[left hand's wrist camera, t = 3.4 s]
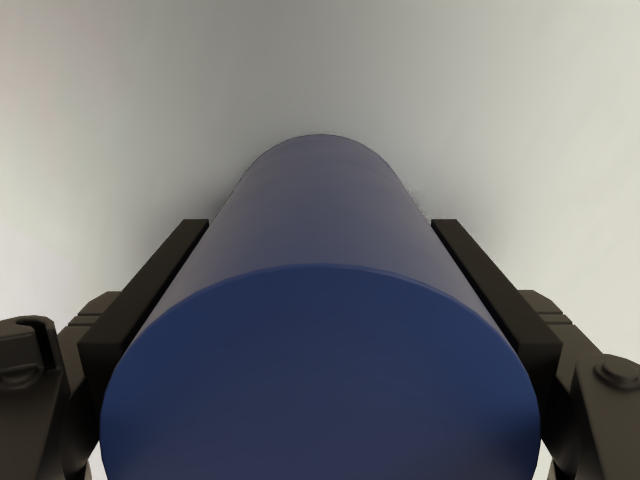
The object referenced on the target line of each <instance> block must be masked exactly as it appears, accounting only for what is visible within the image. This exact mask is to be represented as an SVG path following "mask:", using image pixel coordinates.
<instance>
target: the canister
mask: <svg viewBox="0 0 640 480" xmlns="http://www.w3.org/2000/svg"><path fill="white" fill-rule="evenodd" d="M99 441H100V449H101V457H102V462H103V465H104V469H105V472H106V475H107V479H108V480H532V478H533V475H534V472H535V469H536V466H537V462H538V456H539V450H540V444H541V421H540V414H539V409H538V403H537V397H536V394H535V392H534V389H533V386H532V383H531V381H530V378H529V375H528V373H527V371H526V370H525V368H524V366H523V364H522V363H521V361H520V359H519V358H518V356H517V354H516V352H515V351H514V349H513V348H512V346H511V345H510V343H509V342H508V340H507V339H506V337H505V336H504V334H503V333H502V331H501V330H500V329H499V327H498V326H497V324H496V323H495V321H494V320H493V318H492V317H491V315H490V314H489V312H488V311H487V309H486V308H485V306H484V305H483V303H482V302H481V300H480V299H479V297H478V296H477V294H476V293H475V291H474V290H473V288H472V287H471V285H470V284H469V282H468V281H467V279H466V278H465V277H464V275H463V274H462V272H461V271H460V269H459V268H458V266H457V265H456V263H455V262H454V260H453V259H452V257H451V256H450V254H449V253H448V251H447V250H446V248H445V247H444V245H443V244H442V242H441V241H440V239H439V238H438V236H437V235H436V233H435V232H434V230H433V229H432V227H431V226H430V225H429V223H428V222H427V220H426V219H425V217H424V216H423V214H422V213H421V211H420V210H419V208H418V207H417V205H416V204H415V202H414V201H413V199H412V198H411V196H410V195H409V193H408V192H407V190H406V189H405V187H404V186H403V184H402V183H401V181H400V180H399V178H398V177H397V175H396V174H395V173H394V171H393V170H392V169H391V168H390V166H389V165H388V164H387V163H386V162H385V161H384V160H383V159H382V158H381V157H380V156H379V155H378V154H376V153H375V152H373V151H372V150H371V149H369V148H368V147H366V146H364V145H362V144H360V143H358V142H356V141H353V140H350V139H347V138H343V137H339V136H335V135H323V134H319V135H306V136H301V137H296V138H293V139H290V140H287V141H284V142H282V143H280V144H278V145H276V146H274V147H273V148H271V149H269V150H268V151H266V152H265V153H264V154H262V155H261V156H260V157H259V158H258V159H257V160H256V161H255V162H254V163H253V164H252V165H251V166H250V167H249V169H248V170H247V171H246V173H245V174H244V176H243V177H242V179H241V180H240V182H239V183H238V185H237V186H236V188H235V189H234V191H233V192H232V194H231V195H230V197H229V198H228V200H227V201H226V203H225V204H224V205H223V207H222V208H221V210H220V211H219V213H218V214H217V216H216V217H215V219H214V220H213V222H212V223H211V225H210V226H209V228H208V229H207V231H206V232H205V234H204V235H203V237H202V238H201V240H200V241H199V243H198V244H197V246H196V247H195V249H194V250H193V252H192V253H191V255H190V256H189V258H188V259H187V261H186V262H185V264H184V265H183V267H182V268H181V269H180V271H179V272H178V274H177V275H176V277H175V278H174V280H173V281H172V283H171V284H170V286H169V287H168V289H167V290H166V292H165V293H164V295H163V296H162V298H161V299H160V301H159V302H158V304H157V305H156V307H155V308H154V310H153V311H152V313H151V314H150V316H149V317H148V319H147V320H146V322H145V323H144V325H143V326H142V328H141V329H140V331H139V332H138V333H137V335H136V336H135V338H134V339H133V341H132V342H131V344H130V345H129V347H128V348H127V350H126V352H125V353H124V355H123V356H122V358H121V359H120V361H119V363H118V364H117V366H116V367H115V369H114V372H113V374H112V376H111V379H110V381H109V383H108V386H107V388H106V391H105V395H104V399H103V404H102V408H101V412H100V429H99Z"/></svg>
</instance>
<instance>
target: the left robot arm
mask: <svg viewBox="0 0 640 480" xmlns="http://www.w3.org/2000/svg"><path fill="white" fill-rule="evenodd" d="M431 227H432V229H433V230H434V232H435V233H436V235H437V236H438V238H439V239H440V241H441V242H442V244H443V245H444V247H445V248H446V250H447V251H448V253H449V254H450V256H451V257H452V259H453V260H454V262H455V263H456V265H457V266H458V268H459V269H460V271H461V272H462V274H463V275H464V277H465V278H466V279H467V281H468V282H469V284H470V285H471V287H472V288H473V290H474V291H475V293H476V294H477V296H478V297H479V299H480V300H481V302H482V303H483V305H484V306H485V308H486V309H487V311H488V312H489V314H490V315H491V317H492V318H493V320H494V321H495V323H496V324H497V326H498V327H499V329H500V330H501V331H502V333H503V334H504V336H505V337H506V339H507V340H508V342H509V343H510V345H511V346H512V348H513V349H514V351H515V352H516V354H517V356H518V358H519V359H520V361H521V363H522V364H523V366H524V368H525V370H526V371H527V373H528V375H529V378H530V381H531V383H532V386H533V389H534V392H535V394H536V397H537V403H538V409H539V414H540V421H541V439H542V440H543V442H544V444H545V446H546V447H547V449H548V451H549V452H550V454H551V456H552V461H551V465H550V469H549V473H548V477H547V480H640V365H639V364H637V363H635V362H633V361H630V360H628V359H625V358H622V357H618V356H614V355H610V354H603V353H602V352H601V351H600V350H599V349H598V348H597V347H596V346H595V345H594V344H593V343H592V342H591V341H590V340H589V339H588V338H587V337H586V336H585V335H584V334H583V333H582V332H581V331H580V330H579V329H578V328H577V326H576V325H573V324H572V321H571V320H570V319H569V318H568V317H567V316H566V315H563V312H562V311H561V310H560V309H559V308H558V307H557V306H556V305H555V304H554V303H553V302H552V301H551V300H550V299H548V298H546V297H544V296H543V295H541V294H539V293H537V292H535V291H534V290H517V289H516V288H515V287H514V286H513V284H512V283H511V282H510V281H509V280H508V279H507V278H506V276H505V275H504V274H503V273H502V272H501V271H500V269H499V268H498V267H497V266H496V265H495V264H494V263H493V261H492V260H491V259H490V258H489V257H488V256H487V254H486V253H485V252H484V251H483V250H482V249H481V247H480V246H479V245H478V244H477V243H476V242H475V241H474V239H473V238H472V237H471V236H470V235H469V234H468V232H467V231H466V230H465V229H464V228H463V227H462V226H461V224H460V223H459V222H458V221H457V220H456V219H431ZM208 228H209V219H184V220H183V221H182V222H181V223H180V224H179V226H178V227H177V228H176V229H175V230H174V231H173V232H172V234H171V235H170V236H169V237H168V238H167V239H166V241H165V242H164V243H163V244H162V245H161V246H160V247H159V249H158V250H157V251H156V252H155V253H154V254H153V256H152V257H151V258H150V259H149V260H148V261H147V263H146V264H145V265H144V266H143V267H142V268H141V269H140V271H139V272H138V273H137V274H136V275H135V276H134V278H133V279H132V280H131V281H130V282H129V283H128V284H127V286H126V287H125V288H124V289H123V290H122V291H107V292H106V293H104V294H102V295H100V296H99V297H97V298H95V299H93V300H92V301H90V302H89V303H88V304H87V305H86V306H85V307H84V308H83V309H82V310H81V311H80V312H79V313H78V316H75V317H74V318H73V319H72V320H71V321H70V322H69V323H68V326H65V328H64V329H63V330H62V331H61V332H60V333H59V334H58V335H57V333H56V329H55V325H54V322H53V321H52V320H50V319H49V318H47V317H43V316H36V315H31V316H19V317H14V318H10V319H6V320H2V321H0V480H92V476H91V470H90V465H89V461H88V458H89V457H90V455H91V453H92V451H93V450H94V448H95V446H96V445H97V443H98V441H99V429H100V412H101V408H102V404H103V399H104V395H105V391H106V388H107V386H108V383H109V381H110V379H111V376H112V374H113V372H114V369H115V367H116V366H117V364H118V363H119V361H120V359H121V358H122V356H123V355H124V353H125V352H126V350H127V348H128V347H129V345H130V344H131V342H132V341H133V339H134V338H135V336H136V335H137V333H138V332H139V331H140V329H141V328H142V326H143V325H144V323H145V322H146V320H147V319H148V317H149V316H150V314H151V313H152V311H153V310H154V308H155V307H156V305H157V304H158V302H159V301H160V299H161V298H162V296H163V295H164V293H165V292H166V290H167V289H168V287H169V286H170V284H171V283H172V281H173V280H174V278H175V277H176V275H177V274H178V272H179V271H180V269H181V268H182V267H183V265H184V264H185V262H186V261H187V259H188V258H189V256H190V255H191V253H192V252H193V250H194V249H195V247H196V246H197V244H198V243H199V241H200V240H201V238H202V237H203V235H204V234H205V232H206V231H207V229H208ZM99 442H100V441H99Z"/></svg>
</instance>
